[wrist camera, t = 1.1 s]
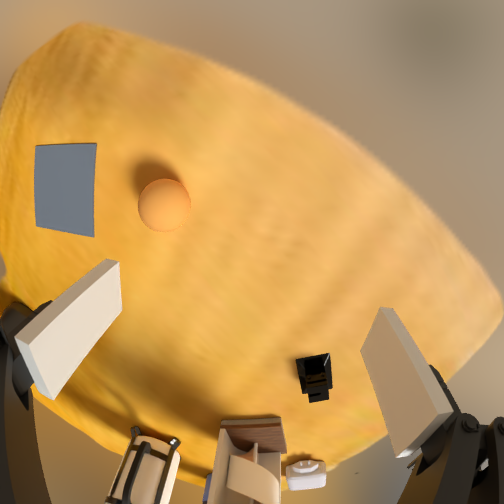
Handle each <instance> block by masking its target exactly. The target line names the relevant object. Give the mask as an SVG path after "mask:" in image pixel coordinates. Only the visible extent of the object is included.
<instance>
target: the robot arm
mask: <svg viewBox="0 0 504 504" xmlns="http://www.w3.org/2000/svg"><path fill="white" fill-rule="evenodd" d="M121 311H122V300H121V287H120V270H119V261H114V260H110V259H105V260H104V261H102V262H101V263H100V264H99V265H97V266H96V267H95V268H93V269H92V270H91V271H90V272H88V273H87V274H86V275H85V276H83V277H82V278H81V279H80V280H78V281H77V282H76V283H75V284H73V285H72V286H71V287H70V288H68V289H67V290H66V291H65V292H64V293H62V294H61V295H60V296H59V297H58V298H57V299H55V300H54V301H52V300H50V301H48V302H46V303H44V304H42V305H40V306H39V307H38V308H37V309H36V310H34V311H33V312H32V311H31V310H30V309H29V308H28V307H26V306H25V305H23V304H21V303H18V302H14V303H12V304H11V305H9V306H8V307H7V308H6V309H5V310H4V312H3V314H2V316H1V318H0V504H52V503H51V500H50V497H49V493H48V490H47V487H46V482H45V478H44V474H43V470H42V465H41V460H40V456H39V450H38V443H37V437H36V429H35V421H34V409H33V394H32V390H31V388H30V387H31V385H32V384H33V383H35V385H36V387H37V389H38V391H39V392H40V393H41V394H43V395H45V396H46V397H48V398H50V399H52V400H54V399H55V398H56V396H57V395H58V393H59V392H60V390H61V389H62V388H63V386H64V385H65V383H66V382H67V381H68V379H69V378H70V377H71V375H72V374H73V372H74V371H75V370H76V368H77V367H78V366H79V364H80V363H81V362H82V360H83V359H84V358H85V356H86V355H87V354H88V353H89V351H90V350H91V349H92V347H93V346H94V345H95V343H96V342H97V341H98V340H99V338H100V337H101V336H102V335H103V333H104V332H105V331H106V330H107V328H108V327H109V326H110V325H111V323H112V322H113V321H114V320H115V318H116V317H117V316H118V315H119V313H120V312H121ZM360 352H361V354H362V357H363V360H364V362H365V365H366V368H367V370H368V373H369V376H370V379H371V382H372V384H373V387H374V390H375V393H376V396H377V399H378V402H379V405H380V408H381V411H382V414H383V417H384V420H385V423H386V427H387V430H388V433H389V436H390V440H391V443H392V446H393V450H394V453H395V457H396V458H399V457H403V456H409V455H412V454H413V453H414V452H415V451H416V450H417V449H418V448H420V447H421V450H422V453H421V454H420V455H419V456H418V457H417V458H416V459H415V460H413V461H412V462H411V463H410V464H409V465H408V467H407V468H408V469H409V468H410V467H411V466H413V465H414V464H415V466H414V468H413V469H412V470H413V471H412V473H411V475H410V478H409V480H408V482H407V484H406V486H405V489H404V491H403V493H402V495H401V497H400V499H399V501H398V503H397V504H504V418H503V417H497V418H495V419H494V421H493V422H492V423H491V424H490V425H480V424H479V422H478V420H477V419H476V418H475V417H474V416H472V415H471V414H467V413H463V414H462V413H461V411H460V409H459V407H458V405H457V404H456V402H455V400H454V398H453V396H452V394H451V393H450V391H449V389H447V385H446V384H445V382H444V380H443V378H442V377H441V375H440V373H439V372H438V371H437V370H436V369H435V368H434V367H433V366H432V365H428V363H427V362H426V360H425V358H424V357H423V355H422V353H421V352H420V350H419V348H418V347H417V345H416V344H415V342H414V340H413V339H412V337H411V336H410V334H409V332H408V331H407V329H406V328H405V326H404V325H403V323H402V321H401V320H400V318H399V317H398V315H397V314H396V312H395V311H394V309H393V308H385V307H380V308H379V310H378V313H377V315H376V317H375V320H374V322H373V324H372V327H371V329H370V331H369V333H368V336H367V338H366V340H365V342H364V344H363V346H362V348H361V351H360ZM487 460H488V465H489V466H488V467H486V468H485V469H484V470H481V466H482V465H483V464H484V463H485V462H486V461H487Z"/></svg>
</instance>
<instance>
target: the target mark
mask: <svg viewBox="0 0 504 504" xmlns="http://www.w3.org/2000/svg"><path fill="white" fill-rule="evenodd" d="M96 147H97V144H63V145H45V146H36V148H35V169H34V197H35V218H36V226H37V227H42V228H47V229H53V230H58V231H63V232H68V233H73V234H78V235H84V236H89V237H94V176H95V159H96Z"/></svg>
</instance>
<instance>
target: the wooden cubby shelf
mask: <svg viewBox="0 0 504 504" xmlns="http://www.w3.org/2000/svg"><path fill="white" fill-rule="evenodd" d="M285 453H287V445H286V440H285V435H284V430H283V425H282V421H281V417H278V418H265V419H246V420H222V422H221V427H220V433H219V439H218V444H217V450H216V456H215V461H214V467H213V473H212V478H211V484H210V490H209V495H208V501H207V504H281V503H280V502H281V499H280V498H281V454H285Z"/></svg>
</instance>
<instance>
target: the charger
mask: <svg viewBox="0 0 504 504" xmlns="http://www.w3.org/2000/svg"><path fill="white" fill-rule="evenodd" d="M286 480H287V483H288V486H289V489H290V490H304V489H313V488H320V487H323V486H324V485H325V484H326V465H325V462H323V461H317V462H316V461H312V460H306V461H299V462H297V463H295V464H292V465H288V466H287V467H286Z"/></svg>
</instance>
